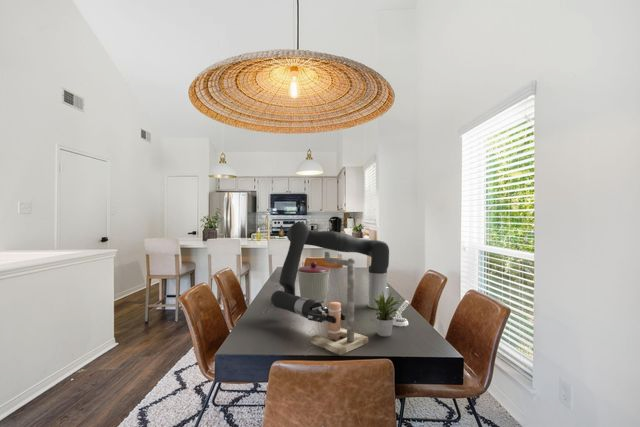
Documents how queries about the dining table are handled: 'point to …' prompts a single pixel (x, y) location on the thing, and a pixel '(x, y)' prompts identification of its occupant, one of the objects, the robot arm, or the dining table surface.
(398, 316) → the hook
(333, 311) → the orange cylindrical bottle
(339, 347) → the wooden gallows stand
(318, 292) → the canister
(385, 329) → the house plant
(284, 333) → the dining table surface
